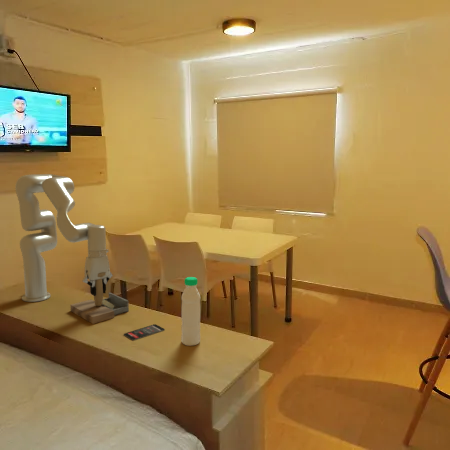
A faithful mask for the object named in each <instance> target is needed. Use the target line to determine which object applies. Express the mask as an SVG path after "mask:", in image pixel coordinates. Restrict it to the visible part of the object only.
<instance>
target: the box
mask: <svg viewBox="0 0 450 450" xmlns="http://www.w3.org/2000/svg"><path fill="white" fill-rule="evenodd" d="M103 299H104V300H106V301H108V302H110V303H111V304H113V305H114V308H113V311H114V317H115V316H117V315H121V314H124V313H128V312H129V300H128V299H126V298H123V297H121V296H118V295H116V294H115V293H112V292H108V297H106V298H103ZM103 306H104V305H103ZM105 307H106V306H105ZM107 308H108V307H107ZM109 309H110V308H109ZM111 310H112V309H111Z"/></svg>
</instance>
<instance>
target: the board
mask: <svg viewBox="0 0 450 450" xmlns="http://www.w3.org/2000/svg"><path fill="white" fill-rule="evenodd" d="M69 308H70V312H71V313H73V314H75V315H77V316H78V317H80V318H81V319H84V320H85V321H86V322H88V323H91V324H92V325H94V324H96V323H97V324H98V323H101V322H105V321H107V320H110V319H115V316H114V311H113V310H111V309H109V308H107V307H105V306H103V305H101V306H96V305H95V301H94V300H93V299H87V300H83V301H80V302H76V303H72V304H70V306H69Z"/></svg>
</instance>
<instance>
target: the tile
mask: <svg viewBox="0 0 450 450" xmlns="http://www.w3.org/2000/svg"><path fill="white" fill-rule="evenodd" d="M104 299H105V298H103V301H102V302H103V304H102V305H104V306H106V307H108V308H110V309H112V310H113V308H114V305H113V304H111V303H110V302H108V301H106V300H104Z"/></svg>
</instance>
